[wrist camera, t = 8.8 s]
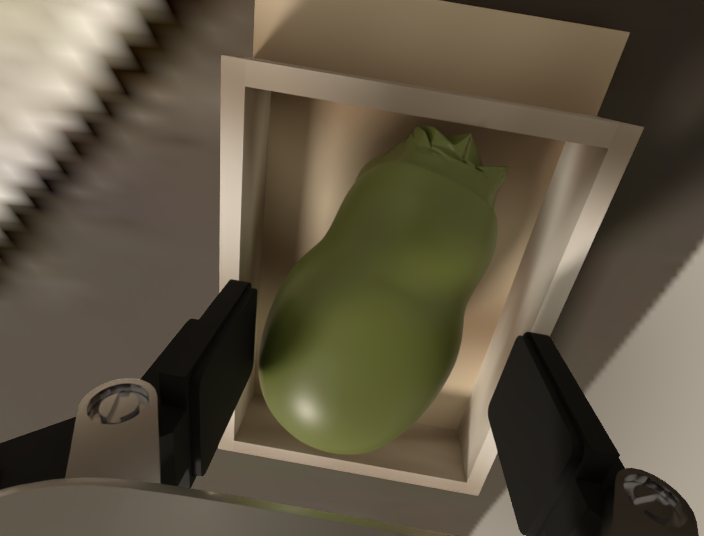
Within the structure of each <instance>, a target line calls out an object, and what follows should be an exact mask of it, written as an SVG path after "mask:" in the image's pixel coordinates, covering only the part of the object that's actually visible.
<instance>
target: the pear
mask: <svg viewBox="0 0 704 536" xmlns="http://www.w3.org/2000/svg"><path fill="white" fill-rule="evenodd" d="M470 137H471V138H470ZM469 138H470V142H469V143H468V141H469ZM474 142H475V141H474V140H473V138H472V136H471V133H469V134H462V135H455V136H452V135H450V136H446V137H445V135H443V134H442V133H441V132H439V131H438V130H437V129H436V128H434V127H432V126H428V125H424V124H419V125H418V126H417V127H415V128H414V131H413V132H411V134H409V136H407V137H406V138H405V139H404V140H403V141H402V142H400V143H399V144H398V145H397V146H395V147H393V148H392V149H391V150H390V151H389V152H388V153H387V154H385V155H383V156H379V157H376V158H374V159H372V160H370V161H369V162H368V163H367V164H365V166H364V167H363V168H362V169H361V171H360V172H359V174H358V176H357V178H356V180H355V183H354V184H353V186H352V187H351V188H350V190H349V191H348V193H347V194H346V196H345V198H344V200H343V202H342V204H341V206H340V208H339V210H338V212H337V214H336V216H335V218H334V220H333V222H332V224H331V226H330V228H329V230H328V231H327V233H326V235H325V236H324V237H323V239H322V240H321V241H320V242H319V243H318V244H317V245H315V246H314V247H313V248H312V249H311V250H310V251H308V252H307V253H306V254H305V255H304V256H303V257H302V258H301V259H300V260H299V261H298V262H297V263H296V264H295V266H294V267H293V268H292V269H291V271H290V272H289V273H288V275H287V276H286V278H285V279H284V281H283V283H282V284H281V286H280V288H279V290H278V292H277V294H276V296H275V298H274V301H273V303H272V305H271V308H270V311H269V314H268V316H267V320H266V323H265V326H264V330H263V334H262V339H261V344H260V350H259V361H258V371H259V381H260V386H261V390H262V394H263V396H264V399H265V401H266V404H267V406H268V407H269V409H270V411H271V412H272V414H273V415H274V417H275V418H276V419H277V421H278V422H279V423H280V424H281V425H282V426H283V427H284V428H285V429H286V430H287V431H288V432H289V433H290V434H291V435H293V436H294V437H295V438H297V439H298V440H300V441H301V442H303V443H305V444H307V445H309V446H311V447H313V448H316V449H318V450H321V451H325V452H329V453H334V454H345V455H351V454H361V453H366V452H370V451H373V450H376V449H378V448H381V447H383V446H385V445H387V444H388V443H390V442H392V441H393V440H395V439H396V438H397V437H399V436H400V435H401V434H403V433H404V432H405V431H406V430H407V429H408V428H410V427H411V426H412V425H413V424H414V423H415V422H416V421H417V420H418V419H419V418H420V416H421V415H422V414H423V413H424V412H425V411H426V410H427V408H428V407H429V406H430V405H431V403H432V402H433V401H434V400H435V398H436V397H437V395H438V394H439V392H440V391H441V389H442V388H443V386H444V384H445V383H446V381H447V379H448V377H449V376H450V374H451V372H452V369H453V367H454V365H455V363H456V360H457V357H458V354H459V350H460V346H461V341H462V335H463V325H464V315H465V310H466V306H467V304H468V302H469V299H470V297H471V295H472V294H473V292H474V290H475V288H476V287H477V285H478V283H479V282H480V280H481V279H482V277H483V275H484V274H485V272H486V270H487V268H488V266H489V264H490V262H491V259H492V257H493V254H494V251H495V247H496V243H497V234H498V221H497V217H496V214H495V212H494V204H495V199H496V194H497V191H498V189H499V188H500V187H501V185H502V184H503V182H504V180H505V178H506V176H507V170H508V168H509V167H508V166H484V165H483V164H482V162H483V161H482V159H481V157H480V154H479V153H478V152H477V151H478V150H477V149H476V146H477V145H475V143H474ZM466 145H468V147H467V150H466V152H464V151H465V147H466ZM477 148H478V147H477ZM463 152H464V153H463ZM463 154H465V156H464V158H462V157H463ZM461 156H462V157H461ZM480 159H481V160H480ZM481 161H482V162H481Z"/></svg>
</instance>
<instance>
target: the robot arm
mask: <svg viewBox="0 0 704 536" xmlns="http://www.w3.org/2000/svg"><path fill="white" fill-rule="evenodd" d="M256 310H257V289H255V288H252V286H251V283H250V282H244V281H239V280H233V279H230V280H229V281H228V283H227V284H226V285H225V287H224V288H223V289H222V290H221V292H220V293H219V294H218V296H217V297H216V298H215V300H214V301H213V302H212V303H211V305H210V306H209V307H208V309H207V310H206V311H205V313H204V314H203V315H202V316H201V318H200V319H199V320H197V319H190V320H189V321H188V322H186V324H185V325H184V326H183V327H182V329H181V330H180V331H179V332H178V334H177V335H176V336H175V337H174V338H173V340H172V341H171V342H170V343H169V345H168V346H167V347H166V348H165V350H164V351H163V352H162V353H161V355H160V356H159V357H158V358H157V359H156V361H155V362H154V363H153V364H152V366H151V367H150V368H149V369H148V371H147V372H146V373H145V374H144V376H143V377H142V378H141V379H140V380H139V379H133V378H130V379H119V380H114V381H110V382H107V383H105V384H103V385H101V386H98V387H97V388H95V389H94V390H92V391H91V392H89V393H88V394H87V395H86V396H85V397H84V399H83V400H82V401H81V402H80V405H79V407H78V410H77V415H76V417H74V418H71V419H68V420H66V421H63V422H60V423H57V424H54V425H51V426H48V427H46V428H43V429H40V430H37V431H34V432H31V433H28V434H26V435H23V436H20V437H17V438H14V439H11V440H8V441H6V442H3V443H0V536H456V535H451V534H445V533H440V532H434V531H429V530H424V529H418V528H413V527H407V526H402V525H396V524H391V523H385V522H380V521H374V520H369V519H363V518H358V517H352V516H347V515H341V514H336V513H330V512H324V511H319V510H313V509H307V508H302V507H296V506H290V505H285V504H279V503H273V502H268V501H262V500H256V499H251V498H245V497H239V496H234V495H228V494H222V493H216V492H210V491H203V490H197V489H191V486H192V484H193V482H194V480H195V478H196V476H204V474H205V473H206V471H207V469H208V467H209V464H210V462H211V460H212V458H213V456H214V454H215V451H216V449H217V447H218V445H219V443H220V441H221V438H222V436H223V434H224V432H225V430H226V428H227V425H228V423H229V421H230V419H231V417H232V415H233V412H234V410H235V408H236V406H237V404H238V401H239V399H240V397H241V395H242V393H243V391H244V388H245V386H246V384H247V382H248V380H249V378H250V375H251V372H252V369H253V363H254V346H255V328H256ZM488 419H489V423H490V426H491V430H492V434H493V437H494V441H495V444H496V448H497V452H498V455H499V459H500V462H501V466H502V470H503V473H504V477H505V480H506V484H507V488H508V491H509V495H510V498H511V502H512V506H513V509H514V512H515V516H516V520H517V524H518V527H519V530H520V532H521V533H522V534H523V535H526V536H699V535H698V528H697V521H696V518H695V515H694V512H693V511H692V509H691V508H690V506H689V505H688V503H687V502H686V500H685V499H684V498H683V497H682V496H681V495H680V494H679V493H678V492H677V491H676V490H675V489H673V488H672V487H671V486H670V485H669V484H667V483H666V482H665V481H663V480H661V479H660V478H658V477H656V476H655V475H653V474H650V473H648V472H645V471H643V470H639V469H634V468H626V469H625V468H624V466H623V464H622V463H621V461H620V459H619V456H620V455H619V453H618V451H617V449H616V448H615V446H614V444H613V443H612V441H611V439H610V438H609V436H608V434H607V433H606V431H605V429H604V428H603V426H602V424H601V422H600V421H599V419H598V417H597V416H596V414H595V412H594V411H593V409H592V407H591V406H590V404H589V402H588V401H587V399H586V397H585V395H584V394H583V392H582V390H581V389H580V387H579V385H578V384H577V382H576V380H575V379H574V377H573V375H572V373H571V372H570V370H569V368H568V367H567V365H566V363H565V362H564V360H563V358H562V357H561V355H560V353H559V352H558V350H557V348H556V346H555V345H554V343H553V341H552V340H551V338H550V337H549V336H548V335H544V334H539V333H533V332H525V333H524V334H523V336H521V335H519V336H518V337H517V338H516V340H515V342H514V345H513V347H512V349H511V352H510V354H509V357H508V359H507V362H506V364H505V367H504V369H503V371H502V374H501V376H500V379H499V381H498V384H497V386H496V389H495V391H494V394H493V396H492V398H491V401H490V403H489V406H488Z"/></svg>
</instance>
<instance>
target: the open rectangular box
mask: <svg viewBox="0 0 704 536" xmlns="http://www.w3.org/2000/svg"><path fill="white" fill-rule="evenodd" d="M629 34H630V32H625V31H619V30H613V29H607V28H601V27H595V26H589V25H583V24H577V23H571V22H565V21H560V20H554V19H548V18H542V17H536V16H530V15H524V14H518V13H512V12H506V11H500V10H494V9H488V8H482V7H476V6H470V5H464V4H458V3H452V2H446V1H440V0H255V16H254V42H253V58H249V57H237V56H225V55H221V143H220V283H219V293H220V292H221V290H222V289H223V288H224V287H225V285H226V284H227V283H228V281H229V280H230V279H233V280H239V281H244V282H250V283H251V286H252V288H255V289H257V310H256V328H255V346H254V363H253V369H252V372H251V375H250V378H249V380H248V382H247V384H246V386H245V388H244V391H243V393H242V395H241V397H240V399H239V401H238V404H237V406H236V408H235V410H234V412H233V415H232V417H231V419H230V421H229V423H228V425H227V428H226V430H225V432H224V434H223V436H222V438H221V441H220V443H219V445H218V449H223V450H229V451H234V452H240V453H245V454H251V455H256V456H262V457H267V458H273V459H278V460H284V461H289V462H295V463H300V464H306V465H312V466H317V467H323V468H328V469H334V470H339V471H345V472H350V473H356V474H361V475H367V476H372V477H378V478H383V479H389V480H394V481H400V482H405V483H411V484H416V485H422V486H427V487H433V488H438V489H444V490H449V491H455V492H461V493H466V494H472V495H477V496H478V495H479V492H480V490H481V488H482V486H483V483H484V481H485V479H486V477H487V475H488V472H489V470H490V468H491V466H492V464H493V461H494V459H495V457H496V455H497V448H496V444H495V441H494V437H493V434H492V430H491V426H490V423H489V419H488V406H489V403H490V401H491V398H492V396H493V394H494V391H495V389H496V386H497V384H498V381H499V379H500V376H501V374H502V371H503V369H504V367H505V364H506V362H507V359H508V357H509V354H510V352H511V349H512V347H513V345H514V342H515V340H516V338H517V337H518V336H519V335H521V336H523V334H524V333H525V332H533V333H539V334H544V335H548V336H549V337H550V335H551V333H552V331H553V328H554V326H555V324H556V322H557V320H558V317H559V315H560V313H561V311H562V309H563V306H564V304H565V302H566V300H567V297H568V295H569V293H570V291H571V289H572V286H573V284H574V282H575V280H576V278H577V275H578V273H579V271H580V269H581V266H582V264H583V262H584V260H585V258H586V255H587V253H588V251H589V249H590V247H591V244H592V242H593V240H594V238H595V235H596V233H597V231H598V229H599V227H600V224H601V222H602V220H603V218H604V216H605V213H606V211H607V209H608V207H609V204H610V202H611V200H612V198H613V196H614V193H615V191H616V189H617V187H618V185H619V182H620V180H621V178H622V176H623V173H624V171H625V169H626V167H627V165H628V162H629V160H630V158H631V156H632V154H633V151H634V149H635V147H636V145H637V142H638V140H639V138H640V136H641V134H642V131H643V129H644V127H641V126H637V125H632V124H628V123H623V122H619V121H615V120H610V119H606V118H601V117H597V114H598V112H599V109H600V107H601V104H602V102H603V99H604V97H605V94H606V92H607V89H608V87H609V84H610V82H611V79H612V77H613V74H614V72H615V69H616V67H617V64H618V62H619V59H620V57H621V54H622V51H623V49H624V46H625V44H626V41H627V39H628V36H629ZM419 124H424V125H428V126H432V127H434V128H436V129H437V130H438V131H439V132H441V133H442V134H443V135H445V137H446V136H450V135H452V136H455V135H462V134H469V133H471V136H472V138H473V140H474V141H475V142H474V143H475V145H477V146H476V149H477V150H478V151H477V152H478V153H479V154H480V157H481V159H482V161H483V162H482V161H481V162H482V164H483V165H484V166H508V167H509V168H508V170H507V176H506V178H505V180H504V182H503V184H502V185H501V187H500V188H499V189H498V191H497V194H496V199H495V204H494V212H495V214H496V217H497V221H498V234H497V243H496V247H495V251H494V254H493V257H492V259H491V262H490V264H489V266H488V268H487V270H486V272H485V274H484V275H483V277H482V279H481V280H480V282H479V283H478V285H477V287H476V288H475V290H474V292H473V294H472V295H471V297H470V299H469V302H468V304H467V306H466V310H465V315H464V325H463V335H462V341H461V346H460V350H459V354H458V357H457V360H456V363H455V365H454V367H453V369H452V372H451V374H450V376H449V377H448V379H447V381H446V383H445V384H444V386H443V388H442V389H441V391H440V392H439V394H438V395H437V397H436V398H435V400H434V401H433V402H432V403H431V405H430V406H429V407H428V408H427V410H426V411H425V412H424V413H423V414H422V415H421V416H420V418H419V419H418V420H417V421H416V422H415V423H414V424H413V425H412V426H411V427H410V428H408V429H407V430H406V431H405V432H404V433H403V434H401V435H400V436H399V437H397V438H396V439H395V440H393V441H392V442H390V443H388V444H387V445H385V446H383V447H381V448H378V449H376V450H373V451H370V452H366V453H361V454H351V455H345V454H334V453H329V452H325V451H321V450H318V449H316V448H313V447H311V446H309V445H307V444H305V443H303V442H301V441H300V440H298V439H297V438H295V437H294V436H293V435H291V434H290V433H289V432H288V431H287V430H286V429H285V428H284V427H283V426H282V425H281V424H280V423H279V422H278V421H277V419H276V418H275V417H274V415H273V414H272V412H271V411H270V409H269V407H268V406H267V404H266V401H265V399H264V396H263V394H262V390H261V386H260V381H259V371H258V361H259V350H260V344H261V339H262V334H263V330H264V326H265V323H266V320H267V316H268V314H269V311H270V308H271V305H272V303H273V301H274V298H275V296H276V294H277V292H278V290H279V288H280V286H281V284H282V283H283V281H284V279H285V278H286V276H287V275H288V273H289V272H290V271H291V269H292V268H293V267H294V266H295V264H296V263H297V262H298V261H299V260H300V259H301V258H302V257H303V256H304V255H305V254H306V253H307V252H308V251H310V250H311V249H312V248H313V247H314V246H315V245H317V244H318V243H319V242H320V241H321V240H322V239H323V237H324V236H325V235H326V233H327V231H328V230H329V228H330V226H331V224H332V222H333V220H334V218H335V216H336V214H337V212H338V210H339V208H340V206H341V204H342V202H343V200H344V198H345V196H346V194H347V193H348V191H349V190H350V188H351V187H352V186H353V184H354V183H355V180H356V178H357V176H358V174H359V172H360V171H361V169H362V168H363V167H364V166H365V164H367V163H368V162H369V161H370V160H372V159H374V158H376V157H379V156H383V155H385V154H387V153H388V152H389V151H390V150H391V149H392V148H393V147H395V146H397V145H398V144H399V143H400V142H402V141H403V140H404V139H405V138H406V137H407V136H409V134H411V132H413V131H414V128H415V127H417V126H418V125H419ZM470 138H471V137H470ZM470 138H469V141H468V143H469V142H470ZM467 147H468V145H466V147H465V151H464V152H466V150H467ZM477 147H478V148H477ZM464 152H463V153H464ZM464 156H465V154H463V157H462V156H461V157H462V158H464ZM481 159H480V160H481Z"/></svg>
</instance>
